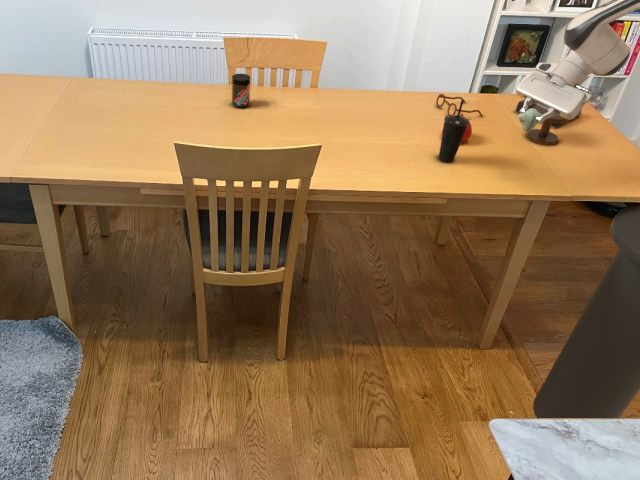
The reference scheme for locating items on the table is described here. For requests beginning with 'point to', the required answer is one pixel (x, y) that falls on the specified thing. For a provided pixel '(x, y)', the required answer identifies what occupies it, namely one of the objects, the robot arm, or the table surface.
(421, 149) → the table surface
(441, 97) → the glasses
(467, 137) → the red tomato
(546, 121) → the brown round base
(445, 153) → the drinking cup
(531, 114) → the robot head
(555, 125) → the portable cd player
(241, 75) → the supplement container
